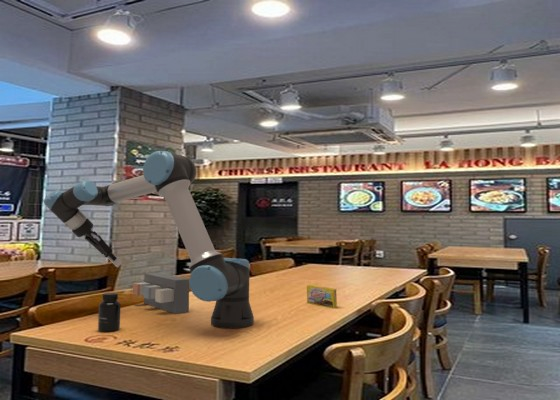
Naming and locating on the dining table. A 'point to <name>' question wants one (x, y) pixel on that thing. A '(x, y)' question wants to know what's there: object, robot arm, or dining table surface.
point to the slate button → (151, 291)
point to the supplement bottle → (109, 313)
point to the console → (180, 292)
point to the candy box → (321, 296)
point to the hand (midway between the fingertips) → (119, 264)
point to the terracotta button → (139, 288)
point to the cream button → (164, 295)
